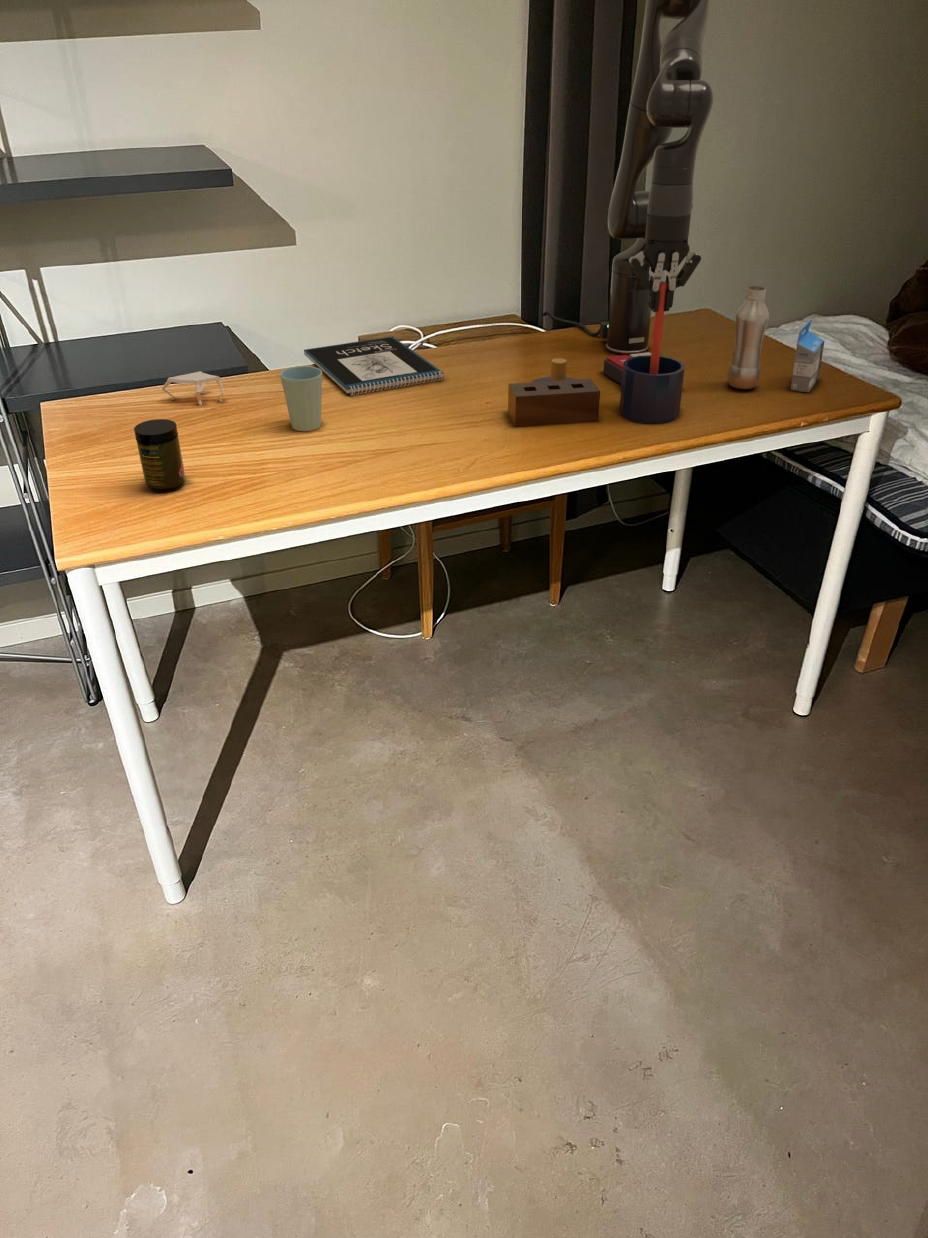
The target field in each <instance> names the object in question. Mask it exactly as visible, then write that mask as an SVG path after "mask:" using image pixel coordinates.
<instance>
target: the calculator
mask: <svg viewBox="0 0 928 1238" xmlns="http://www.w3.org/2000/svg"><path fill="white" fill-rule="evenodd" d="M643 355H651V352H650V351H648V352H647V351H646V352H644V353H638V354H630V355H624V354H620V355H614V356H607V357H606V358H605V359H603V374H604V375H606V376H607V377H609V378H611V379H612V380H613V381H615V382H616V383H618V384H619V385H620V386H621V385H622V372H623V364H624V361H625V360H627V359H629V358H631V357H636V356H643Z"/></svg>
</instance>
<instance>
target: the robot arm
mask: <svg viewBox="0 0 928 1238" xmlns="http://www.w3.org/2000/svg"><path fill="white" fill-rule="evenodd" d="M710 6H711V0H645V6H644V7H645V8H644V17H643V22H642V23H643V25H642V31H641V41H640V48H639V55H638V60H637V65H636V71H635V75H634V81H633V86H632V91H631V95H630V100H629V106H628V112H627V118H626V125H625V131H624V138H623V144H622V151H621V155H620V161H619V166H618V169H617V173H616V177H615V180H614V181H615V182H614V185H613V189H612V193H611V196H610V201H609V205H608V206H609V207H608V213H607V228H608V232H609V235H610V236H611V237H612V238H613V239H615V240H633V239H636V241H635V242H634V244H632V245H631V246H630V247H629V248H627V249H626V250H624V251H621V252H619V253H618V254H616V255H615V256H614V257H613V259H612V264H611V265H612V266H611V279H610V294H609V295H610V296H609V310H608V320H607V321H600V325H599V329H598V330H597V331H596V332H591V331H590V330H589V328H587V326H586V325H584V324H583V323H580V322H577V321H573V320H568V319H565V318H560V317H557V316H555V315H554V314H553V313H552V312H551V311H549V310H546V311H544V312H542V315H541V316H542V317H546V316H548V317H549V318H550V319H551V320H553V321H554V322H558V323H561V324H566V325H571V326H575V327H578V328H580V329H582V330H583V331H584V332H585V333H586V334H587V335H589V336H591V337H598V336H599V337H600V338H601V339H602V340H606V343H605V349H606V350H607V351H608V352H611V353H614V354H617V355H628V356H630V354H638V353H647V351H648V350H649V339H650V338H649V336H650V328H651V327H650V326H651V317H652V312H653V313H655V312H658V305H659V295H660V292H659V291H658V290H659V285H660V282H661V278H663V272H664V282H667V288H666V298H665V308H664V312H669V311H670V309H671V308H673V305H674V296H675V290H676V289H677V288H680V287H684V286H685V285H686V284H687V282H688V281H689V279H690V278H691V276H692V274H693V273H694V271H695V270H696V269H697V267H698V265H699V264H700V263H701V261H702V256H701V255H700V254H698V253H696V252H694V251H691V248H690V245H689V234H690V226H691V217H692V211H693V200H694V193H693V192H694V178H695V177H694V176H695V167H696V159H697V154H698V149H699V145H700V141H701V138H702V136H703V133H704V130H705V127H706V125H707V123H708V120H709V117H710V114H711V112H712V108H713V105H714V91H713V88H712V87H711V86H712V85H710V83H709V82H708V81H706V80H703V79H701V78H702V74H703V73H702V71H703V42H704V37H705V32H706V28H707V22H708V16H709V11H710ZM662 19H672V20H681V21H679V22H678V23H677V24H676V25H675V26H674V27H673V28H672V29H671V30H670V31H669V32H668V33H667V35H666V36H665V38H664V40H663V37H662V31H661V21H662ZM676 128H677V129H678V128H679V129H682V128H683V129H685V128H686V129H687V130H686V132H685V134H684V135H683V136H682V137H681V138H680V139H677V140H674V141H670V142H668V140H669V138H670V137H671V135H672V132H673V129H676ZM651 162H652V171H651V172H652V173H651V182H650V188H649V190H640V191H638V190H637V187H638V184H639V182H640V179H641V178H642V175H643V174H644V172H645V171H646V169H647V167H648V166H649V165H650V164H651ZM636 190H637V191H636ZM683 261H684V264H683V265H682V267H681V269H680V270H679V271H678V269H679V266H680V265H681V263H682V262H683Z"/></svg>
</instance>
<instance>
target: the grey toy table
mask: <svg viewBox="0 0 928 1238" xmlns="http://www.w3.org/2000/svg"><path fill="white" fill-rule="evenodd" d="M212 382H216V383H217V385H218V386H219V388H220V391H221V392H222V393H221V394H219V395H218V396H217V399H218V400H219V402H220V403H222V402H223V400H222V399H221V397H222V396H224V395H225V394H226V392H225V389H224V386H223V383H222V380H221V377H220V376H218V375H214V374H208V373H205V372H203V371H202V370H200V371H195V372H190V373H185V374H181V375H176V376H170V377H168V378H167V380H166V382H165V383H164V384H163V386H162V387H161V390H162V391H163V392H164V393H166V394H167V395H168V396H169V397H170V398H171V400H172V401H175V400H176V397H175V396H174V395H173V394H172V393H171V392H170V391H169V390H167V389H166V388H167V387H169V385H171V383H174V384H175V383H176V384H186V385H187V384H188V385H189V384H190V385H195V395H196V399H197V402H198V403H197V404H198V405H200V406H201V405H203V402H202V397H201V396H202V395H204V394H207V391H203V390H204V387H205V385H206V383H212ZM201 394H202V395H201Z"/></svg>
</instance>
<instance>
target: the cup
mask: <svg viewBox="0 0 928 1238" xmlns="http://www.w3.org/2000/svg"><path fill="white" fill-rule="evenodd" d="M279 377H280V380H281V385H282V389H283V393H284V398H285V399H284V400H285V402H286V407H287V412H288V417H289V420H290V426H291V427H292V429H293V430H295V431H299V432H312V431H315V430H317V429H319V428H320V427H321V426H322V396H323V395H322V394H323V392H322V390H323V371H322V370H321V369H320V368H318V367H317V366H316V367H315V366H311V365H299V366H298V365H297V366H292V367H288V368H285V369H283V370H282V371H281V372H280V373H279Z"/></svg>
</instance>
